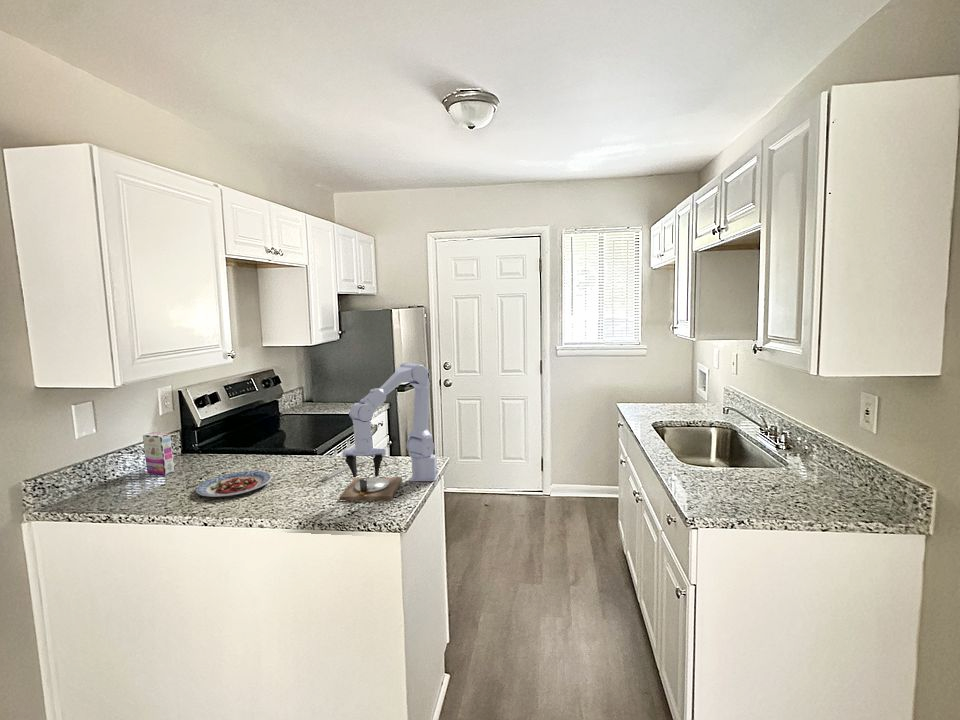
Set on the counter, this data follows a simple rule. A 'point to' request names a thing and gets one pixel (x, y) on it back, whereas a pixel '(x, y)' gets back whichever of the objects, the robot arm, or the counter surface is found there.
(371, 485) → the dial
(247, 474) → the ceramic plate
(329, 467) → the counter surface
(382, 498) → the dial board
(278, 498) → the counter surface
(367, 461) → the adjustable wrench
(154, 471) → the candy bar box
